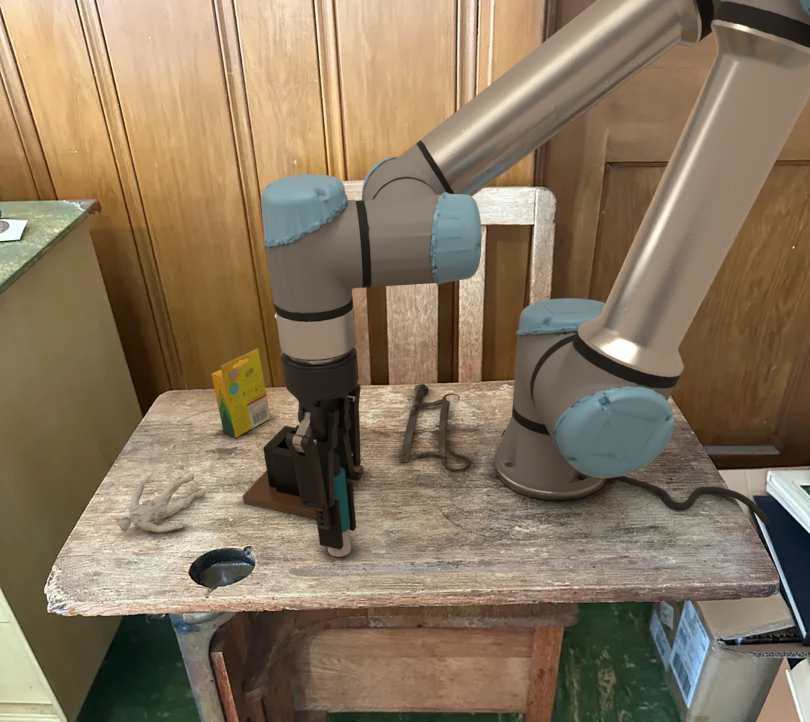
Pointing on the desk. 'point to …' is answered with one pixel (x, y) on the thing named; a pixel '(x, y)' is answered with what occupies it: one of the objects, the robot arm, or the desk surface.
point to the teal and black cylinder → (341, 508)
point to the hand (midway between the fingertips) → (338, 535)
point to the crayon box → (241, 394)
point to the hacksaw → (442, 453)
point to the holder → (280, 479)
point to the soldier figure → (156, 507)
